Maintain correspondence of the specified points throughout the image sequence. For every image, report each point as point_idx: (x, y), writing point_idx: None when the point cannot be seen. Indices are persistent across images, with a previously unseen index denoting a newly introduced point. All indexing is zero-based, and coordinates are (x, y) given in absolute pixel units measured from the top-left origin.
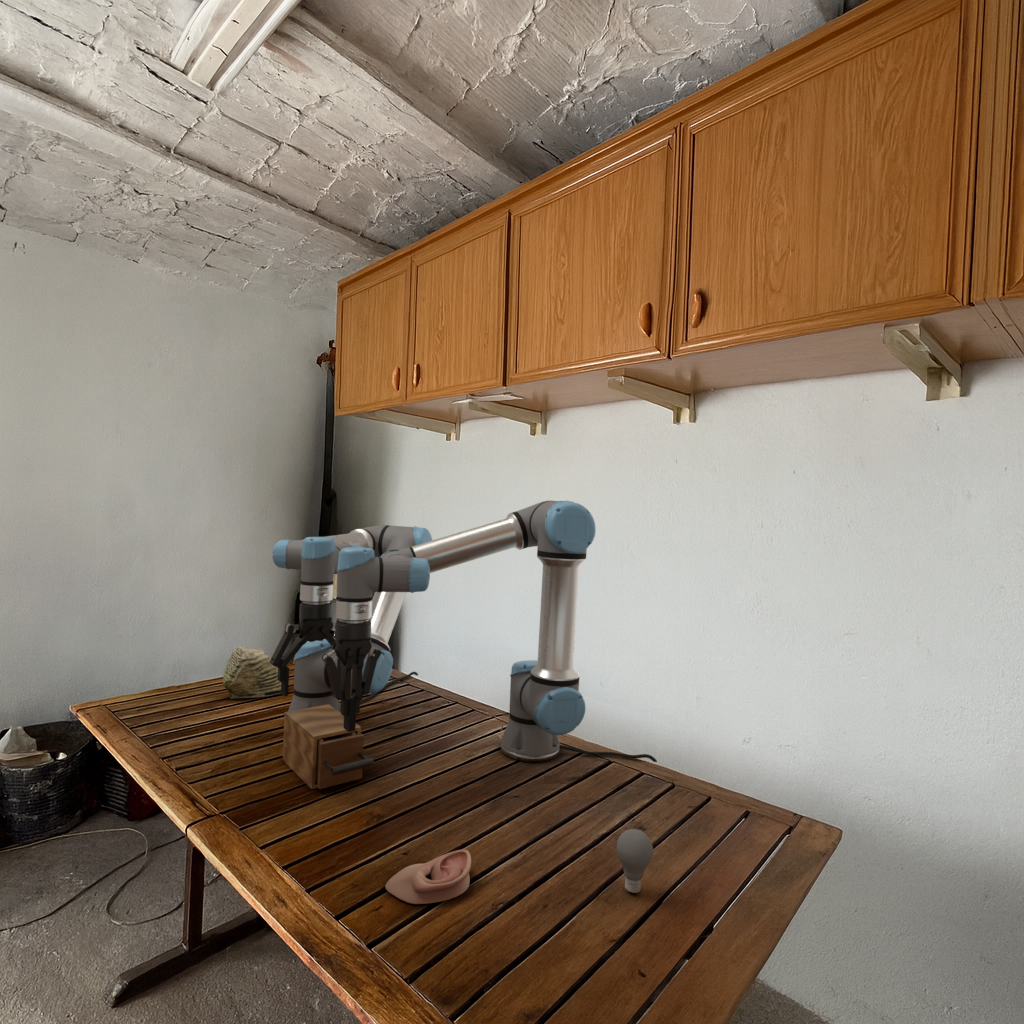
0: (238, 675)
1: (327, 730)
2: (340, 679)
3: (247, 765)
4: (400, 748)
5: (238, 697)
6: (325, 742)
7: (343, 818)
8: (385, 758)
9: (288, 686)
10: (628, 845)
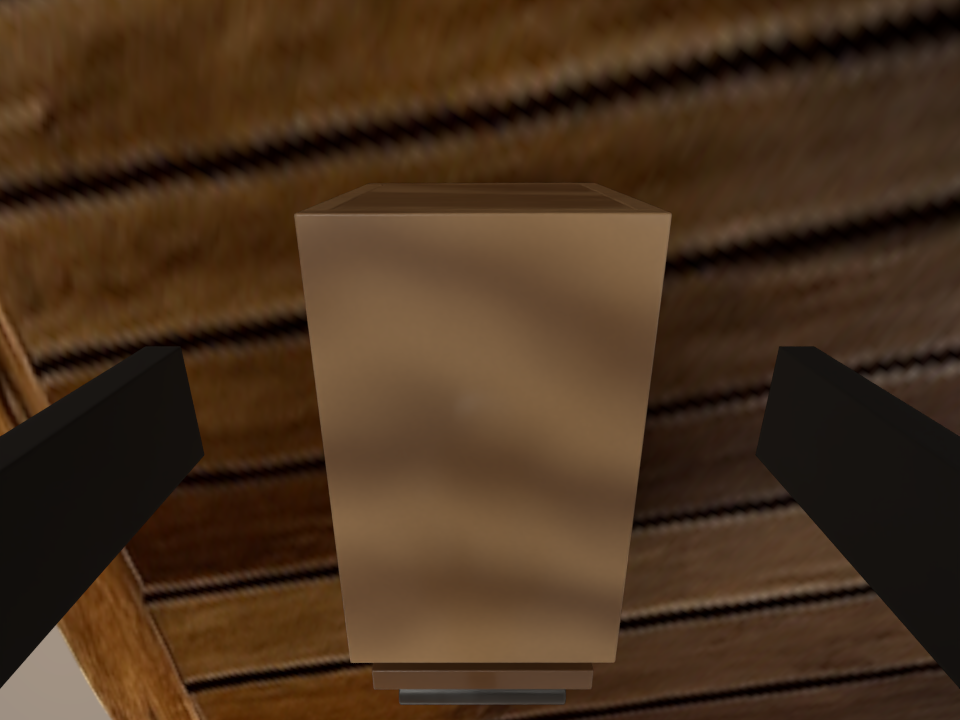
0: None
1: (441, 631)
2: (802, 490)
3: (206, 150)
4: (873, 348)
5: None
6: (397, 682)
7: None
8: (750, 405)
9: (152, 513)
10: None
